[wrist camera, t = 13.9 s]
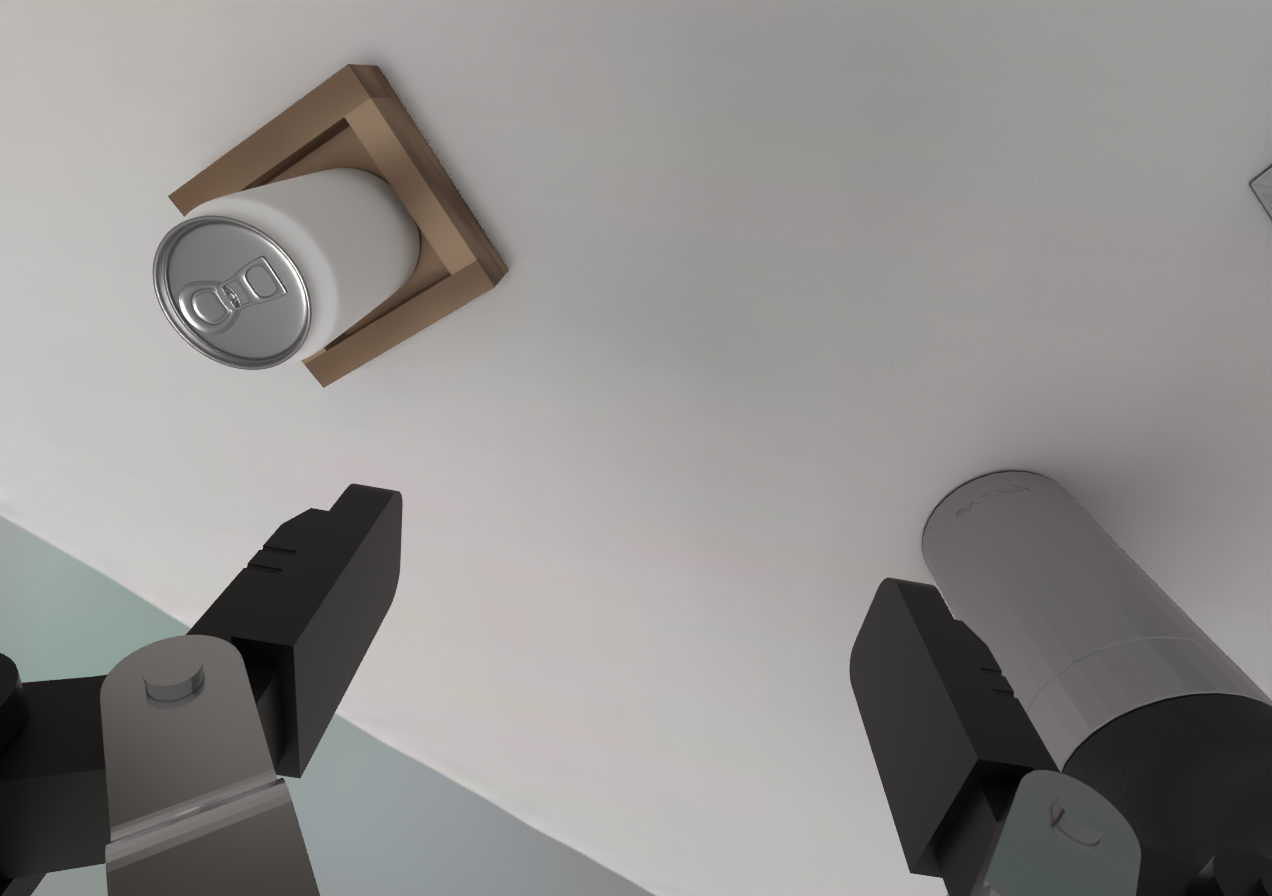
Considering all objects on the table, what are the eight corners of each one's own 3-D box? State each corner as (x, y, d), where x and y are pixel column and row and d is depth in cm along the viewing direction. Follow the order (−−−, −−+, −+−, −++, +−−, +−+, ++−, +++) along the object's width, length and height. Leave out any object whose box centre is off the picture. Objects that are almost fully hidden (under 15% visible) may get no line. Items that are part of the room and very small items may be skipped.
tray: (508, 270, 38) (494, 287, 35) (349, 364, 40) (323, 387, 37) (377, 66, 33) (348, 64, 30) (210, 186, 36) (168, 196, 33)
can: (269, 199, 35) (100, 249, 25) (377, 143, 34) (247, 169, 23) (343, 315, 38) (218, 405, 27) (446, 267, 37) (357, 342, 26)
